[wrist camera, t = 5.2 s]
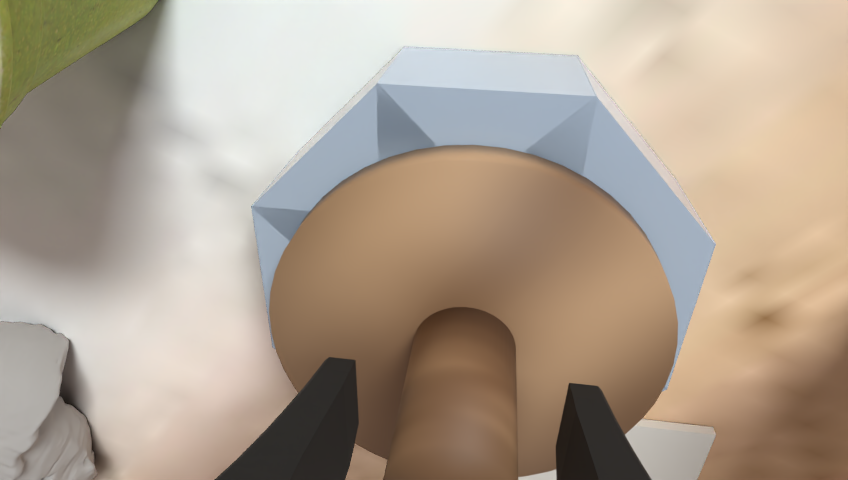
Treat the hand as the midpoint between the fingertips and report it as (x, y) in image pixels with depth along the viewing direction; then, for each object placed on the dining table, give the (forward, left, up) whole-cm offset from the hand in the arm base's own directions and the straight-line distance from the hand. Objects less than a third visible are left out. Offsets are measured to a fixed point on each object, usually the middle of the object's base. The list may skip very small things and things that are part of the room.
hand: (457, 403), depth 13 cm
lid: (0, +1, -4) cm, 4 cm away
